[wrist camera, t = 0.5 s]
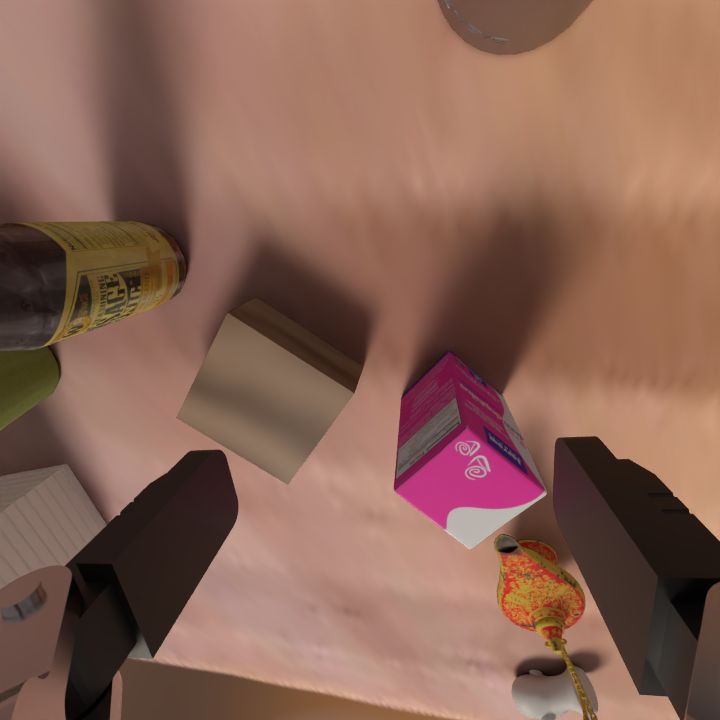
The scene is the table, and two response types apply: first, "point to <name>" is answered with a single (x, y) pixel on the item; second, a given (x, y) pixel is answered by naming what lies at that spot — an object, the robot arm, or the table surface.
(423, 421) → the supplement box
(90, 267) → the sauce bottle
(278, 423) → the block
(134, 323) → the table surface
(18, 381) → the plant pot
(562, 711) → the smooth white sculpture
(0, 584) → the white textured block
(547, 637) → the magic lamp
